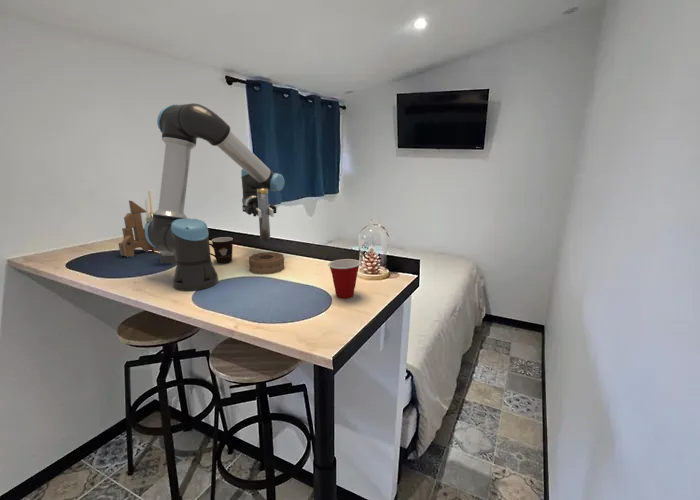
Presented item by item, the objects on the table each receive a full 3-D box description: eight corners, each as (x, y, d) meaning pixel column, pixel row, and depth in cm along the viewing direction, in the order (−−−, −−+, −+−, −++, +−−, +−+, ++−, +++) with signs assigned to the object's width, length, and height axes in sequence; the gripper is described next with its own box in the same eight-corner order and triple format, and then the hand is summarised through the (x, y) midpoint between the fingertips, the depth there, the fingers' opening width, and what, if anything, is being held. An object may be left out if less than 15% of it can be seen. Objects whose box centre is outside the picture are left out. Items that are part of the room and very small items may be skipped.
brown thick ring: (285, 272, 147) (285, 260, 145) (249, 275, 143) (248, 263, 142) (282, 262, 160) (281, 251, 158) (249, 264, 156) (248, 253, 155)
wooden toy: (126, 258, 164) (117, 203, 157) (120, 256, 168) (111, 202, 161) (161, 251, 176) (153, 199, 169) (154, 249, 179) (147, 198, 173)
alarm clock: (177, 265, 155) (172, 223, 150) (154, 265, 155) (147, 223, 150) (194, 254, 171) (189, 216, 166) (172, 254, 171) (167, 216, 166)
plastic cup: (342, 287, 131) (342, 255, 128) (366, 294, 125) (367, 261, 122) (321, 296, 123) (321, 262, 120) (346, 304, 117) (346, 269, 113)
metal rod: (270, 239, 147) (268, 189, 141) (260, 239, 146) (256, 189, 140) (270, 236, 150) (267, 188, 145) (259, 237, 149) (256, 188, 144)
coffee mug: (237, 258, 164) (235, 237, 161) (229, 264, 156) (227, 242, 153) (212, 258, 165) (210, 236, 162) (203, 263, 157) (201, 241, 154)
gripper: (275, 212, 165) (288, 221, 145) (236, 214, 158) (244, 225, 138) (274, 195, 163) (287, 202, 143) (234, 197, 156) (243, 205, 136)
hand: (266, 213), depth 140 cm, fingers closed on metal rod, 4 cm apart
